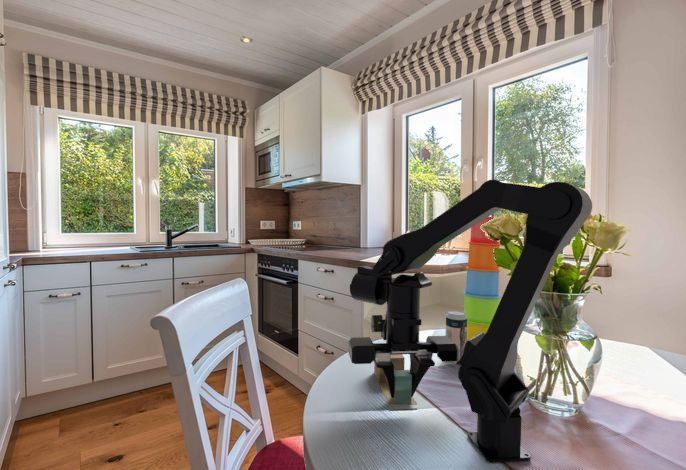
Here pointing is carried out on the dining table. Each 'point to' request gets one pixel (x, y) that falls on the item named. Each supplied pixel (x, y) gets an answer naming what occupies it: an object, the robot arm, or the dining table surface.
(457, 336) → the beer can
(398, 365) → the walnut cube
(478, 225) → the stacking cups
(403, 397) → the green toy block
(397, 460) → the dining table surface
